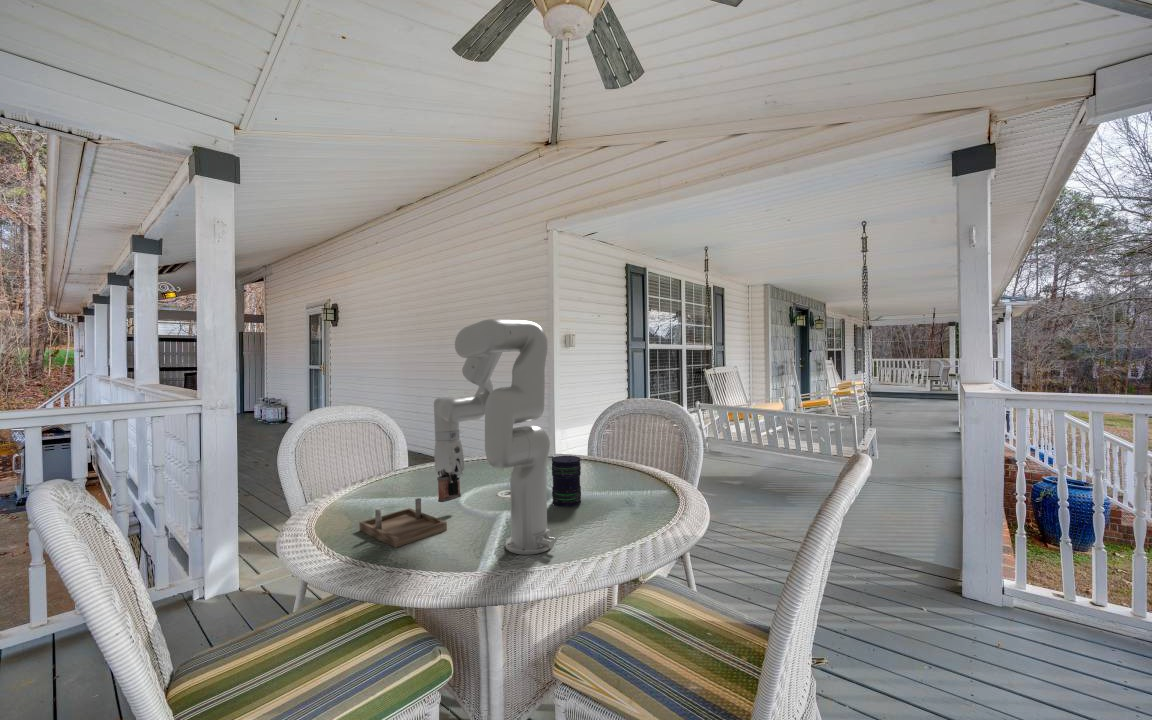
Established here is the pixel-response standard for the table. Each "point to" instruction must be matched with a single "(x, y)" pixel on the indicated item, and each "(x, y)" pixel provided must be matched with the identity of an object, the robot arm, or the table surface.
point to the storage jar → (566, 481)
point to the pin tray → (402, 526)
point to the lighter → (446, 488)
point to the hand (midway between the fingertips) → (449, 493)
